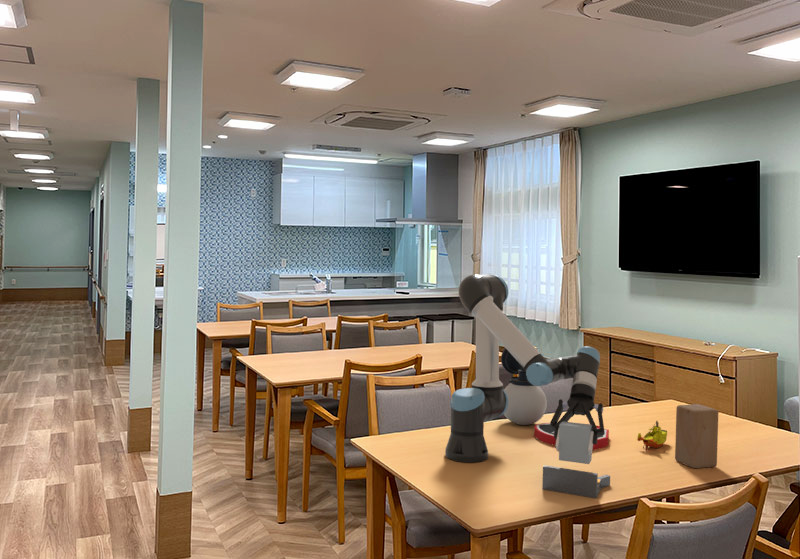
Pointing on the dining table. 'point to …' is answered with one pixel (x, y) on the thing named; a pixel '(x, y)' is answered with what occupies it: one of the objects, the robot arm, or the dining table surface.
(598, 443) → the emblem
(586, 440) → the panel
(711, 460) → the wooden block
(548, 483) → the rack
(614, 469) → the dining table surface
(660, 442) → the toy submarine
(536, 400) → the light fixture
